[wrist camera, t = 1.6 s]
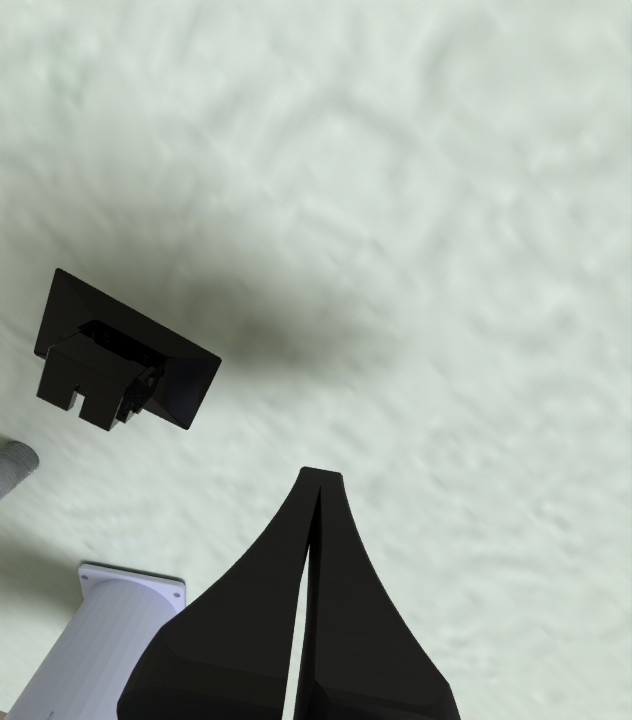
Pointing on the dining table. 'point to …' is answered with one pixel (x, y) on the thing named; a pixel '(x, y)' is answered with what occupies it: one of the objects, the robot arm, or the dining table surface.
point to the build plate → (116, 359)
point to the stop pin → (15, 465)
